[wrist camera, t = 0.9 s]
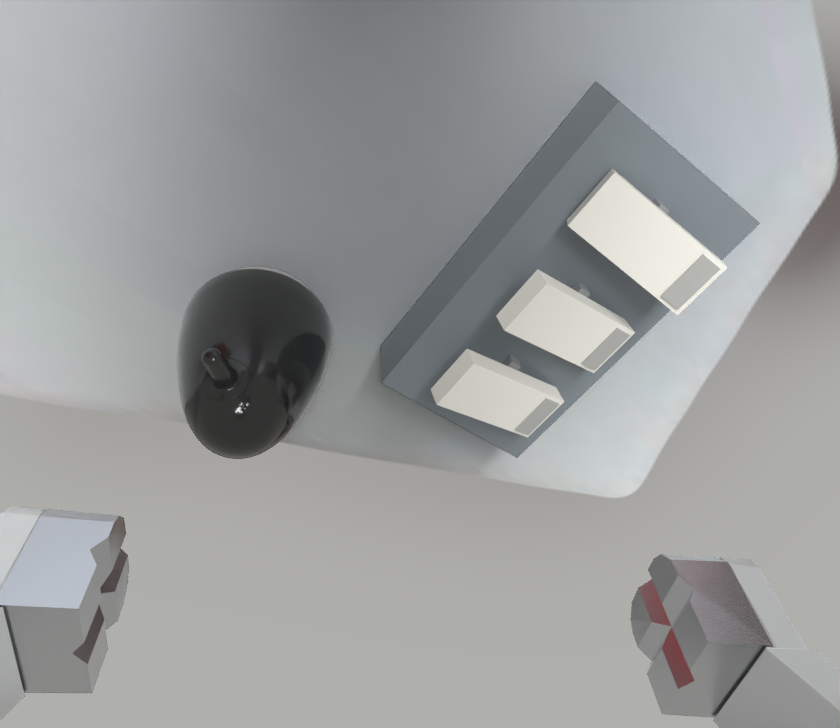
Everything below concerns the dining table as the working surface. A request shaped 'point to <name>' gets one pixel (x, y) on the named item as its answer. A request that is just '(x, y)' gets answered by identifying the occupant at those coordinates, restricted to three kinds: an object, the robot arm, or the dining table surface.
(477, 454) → the dining table surface
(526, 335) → the block
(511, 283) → the console
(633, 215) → the rocker
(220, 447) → the black rounded dome
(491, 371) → the rocker
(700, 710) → the robot arm
